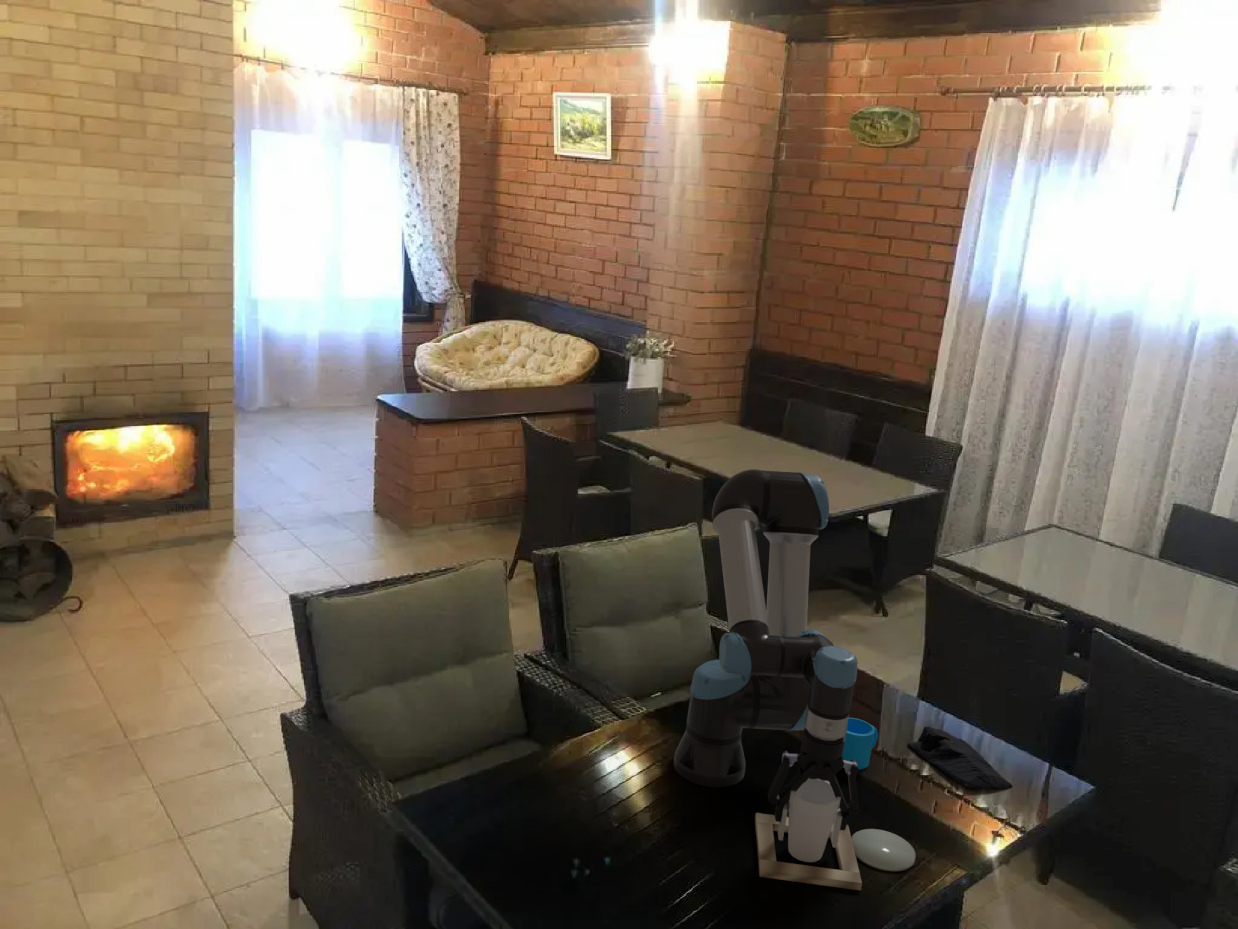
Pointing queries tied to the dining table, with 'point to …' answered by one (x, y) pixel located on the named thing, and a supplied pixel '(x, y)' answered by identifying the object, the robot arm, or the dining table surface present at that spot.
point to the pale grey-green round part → (883, 850)
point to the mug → (859, 742)
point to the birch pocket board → (802, 873)
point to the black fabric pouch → (957, 759)
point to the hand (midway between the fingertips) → (806, 839)
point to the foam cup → (811, 819)
